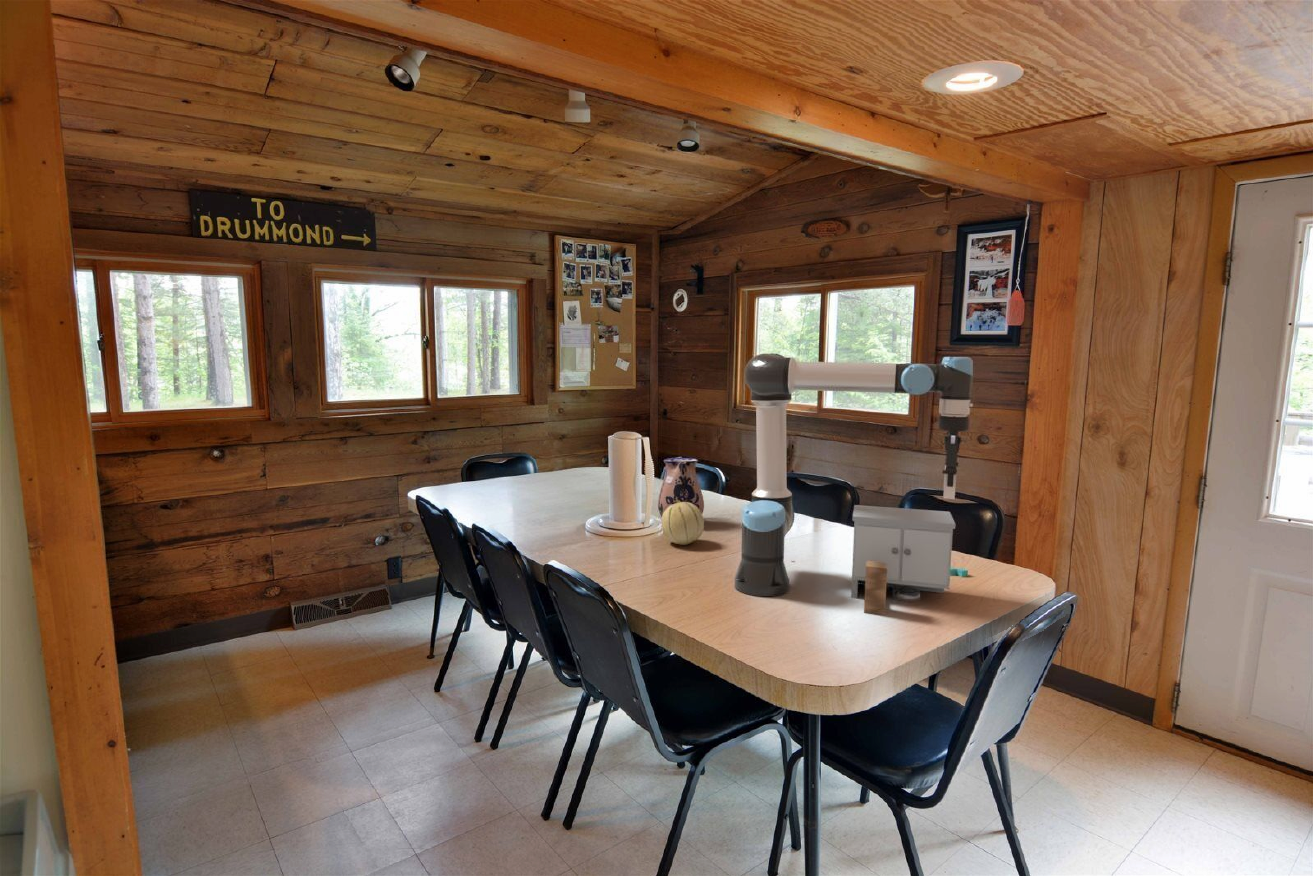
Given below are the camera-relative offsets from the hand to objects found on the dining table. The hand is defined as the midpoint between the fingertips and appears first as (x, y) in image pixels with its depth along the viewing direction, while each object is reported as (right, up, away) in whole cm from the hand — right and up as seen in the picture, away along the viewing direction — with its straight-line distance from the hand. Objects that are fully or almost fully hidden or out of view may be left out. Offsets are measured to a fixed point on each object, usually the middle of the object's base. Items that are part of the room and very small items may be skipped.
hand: (948, 494), depth 184 cm
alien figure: (0, -26, +24) cm, 35 cm away
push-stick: (-21, -28, -3) cm, 35 cm away
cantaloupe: (-70, -21, +50) cm, 89 cm away
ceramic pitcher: (-70, -18, +80) cm, 107 cm away
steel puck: (-12, -28, 0) cm, 30 cm away
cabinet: (-13, -27, +2) cm, 30 cm away
